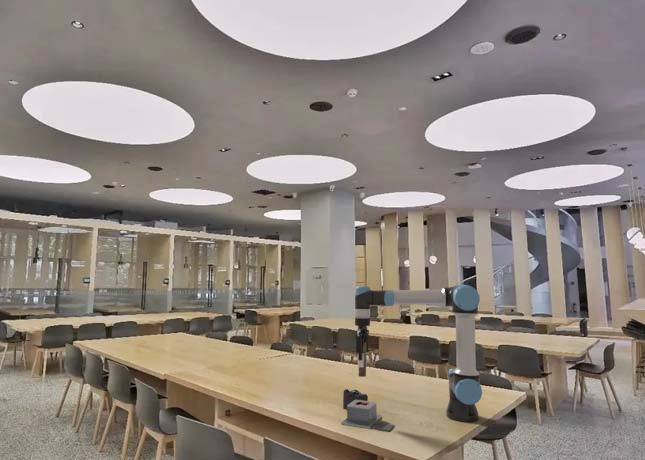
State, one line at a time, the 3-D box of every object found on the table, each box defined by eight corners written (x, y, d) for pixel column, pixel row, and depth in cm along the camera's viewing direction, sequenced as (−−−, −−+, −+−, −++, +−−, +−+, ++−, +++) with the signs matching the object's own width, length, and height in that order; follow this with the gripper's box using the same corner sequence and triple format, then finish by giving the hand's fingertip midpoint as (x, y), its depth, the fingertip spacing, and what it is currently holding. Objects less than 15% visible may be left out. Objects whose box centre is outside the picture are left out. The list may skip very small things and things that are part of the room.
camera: (375, 409, 212) (375, 389, 213) (364, 414, 203) (364, 393, 205) (352, 404, 220) (352, 385, 222) (341, 409, 212) (341, 389, 213)
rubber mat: (394, 426, 186) (394, 424, 186) (389, 431, 178) (389, 430, 178) (377, 423, 189) (377, 422, 189) (372, 429, 182) (372, 427, 182)
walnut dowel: (367, 375, 197) (367, 342, 199) (364, 377, 194) (364, 342, 196) (360, 374, 199) (360, 341, 201) (357, 376, 196) (357, 342, 198)
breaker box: (381, 417, 198) (381, 400, 199) (370, 428, 182) (369, 410, 183) (354, 413, 204) (354, 397, 205) (341, 424, 188) (341, 406, 189)
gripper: (361, 316, 209) (360, 362, 206) (349, 318, 194) (349, 368, 191) (374, 316, 206) (375, 364, 203) (364, 318, 191) (363, 370, 188)
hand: (362, 366), depth 197 cm, fingers closed on walnut dowel, 3 cm apart
